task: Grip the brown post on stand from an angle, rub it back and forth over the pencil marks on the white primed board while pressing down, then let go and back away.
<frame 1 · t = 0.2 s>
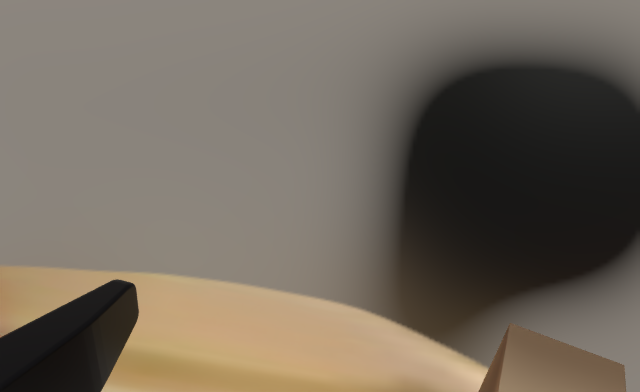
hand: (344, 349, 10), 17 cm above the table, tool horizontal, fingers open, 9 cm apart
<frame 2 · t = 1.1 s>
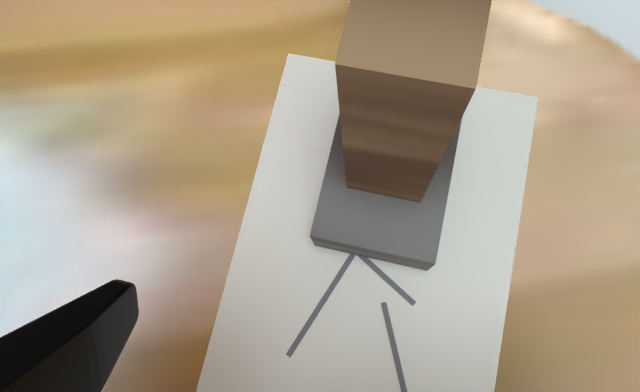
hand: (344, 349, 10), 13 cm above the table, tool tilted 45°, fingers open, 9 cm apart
primed board: (360, 304, 23), on the table
brown post on stand: (388, 172, 23), point 2 cm above the table, touching primed board
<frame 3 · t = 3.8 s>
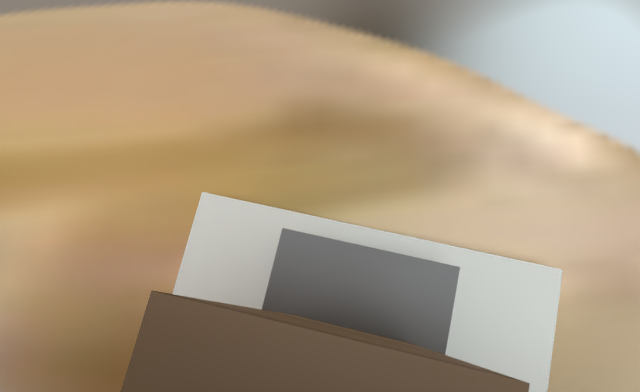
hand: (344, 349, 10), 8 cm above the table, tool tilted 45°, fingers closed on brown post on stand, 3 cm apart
brown post on stand: (340, 385, 16), point 2 cm above the table, touching gripper, primed board
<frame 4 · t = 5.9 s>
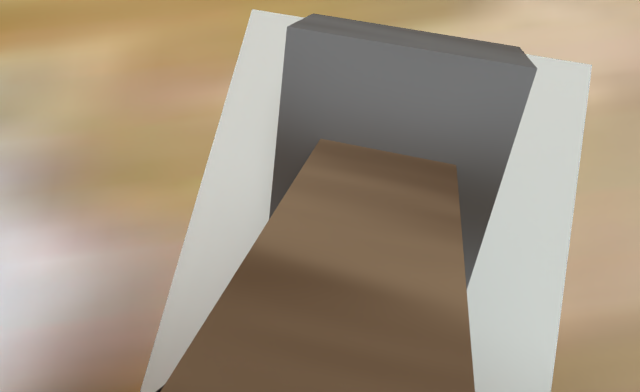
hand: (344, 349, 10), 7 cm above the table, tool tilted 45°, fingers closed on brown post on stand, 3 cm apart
primed board: (348, 350, 17), on the table
brown post on stand: (383, 178, 14), point 4 cm above the table, tilted 40°, touching gripper, primed board
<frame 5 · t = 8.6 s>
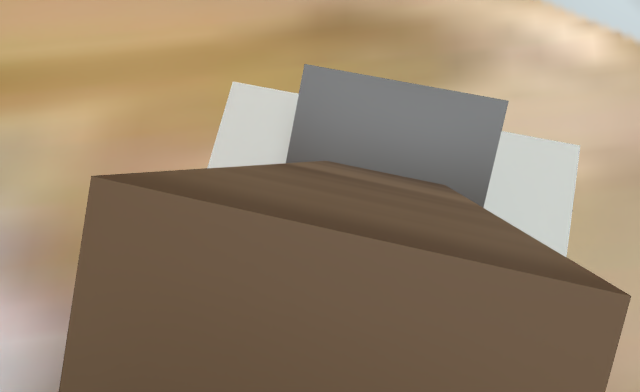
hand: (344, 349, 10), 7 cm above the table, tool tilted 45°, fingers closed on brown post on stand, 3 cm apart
brown post on stand: (374, 227, 15), point 3 cm above the table, tilted 19°, touching gripper, primed board
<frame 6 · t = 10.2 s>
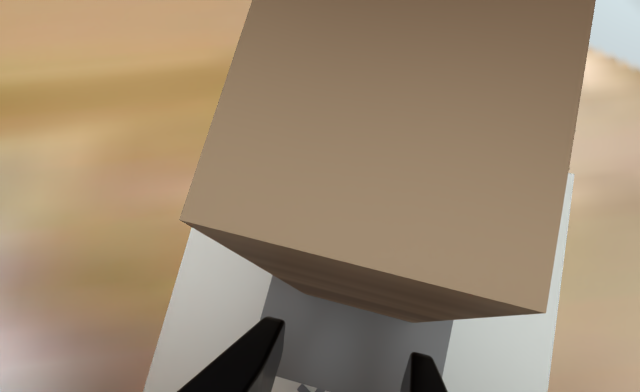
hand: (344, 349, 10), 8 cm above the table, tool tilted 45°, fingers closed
brown post on stand: (371, 257, 17), point 1 cm above the table, touching primed board
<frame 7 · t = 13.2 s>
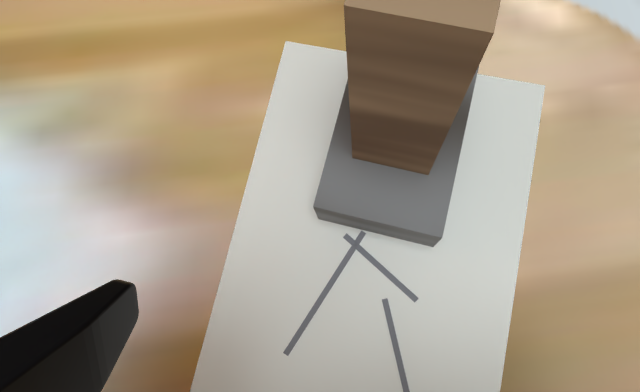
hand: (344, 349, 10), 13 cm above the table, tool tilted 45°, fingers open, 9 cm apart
primed board: (360, 301, 23), on the table
brown post on stand: (395, 146, 23), point 1 cm above the table, touching primed board
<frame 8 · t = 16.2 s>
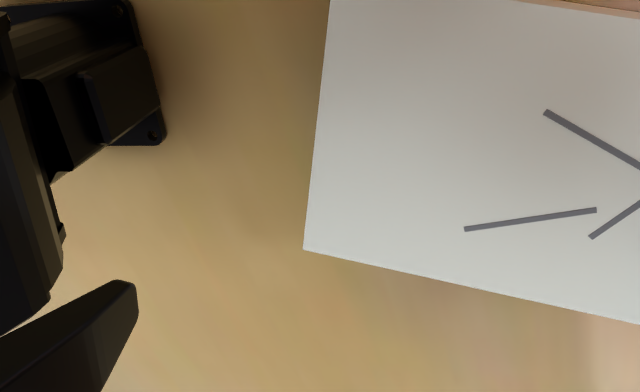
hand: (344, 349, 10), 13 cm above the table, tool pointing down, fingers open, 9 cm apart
primed board: (589, 169, 20), on the table
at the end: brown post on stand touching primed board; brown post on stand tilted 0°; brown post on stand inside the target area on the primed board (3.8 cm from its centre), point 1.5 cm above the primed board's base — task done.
